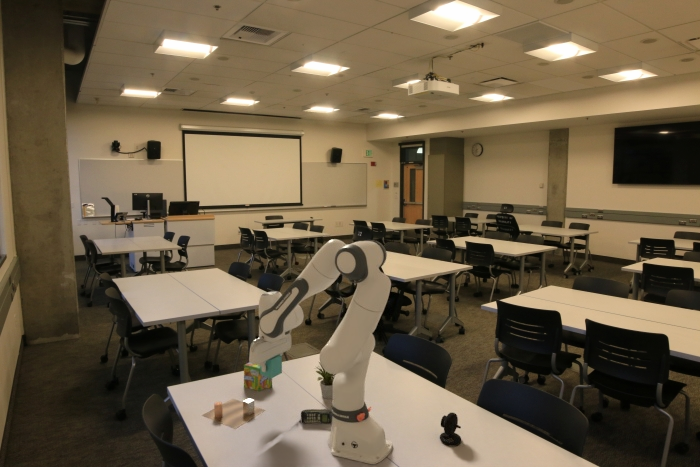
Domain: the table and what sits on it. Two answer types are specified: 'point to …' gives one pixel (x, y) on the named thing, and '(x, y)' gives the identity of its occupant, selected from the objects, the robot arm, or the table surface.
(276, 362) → the mint green cube
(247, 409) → the beige wooden block
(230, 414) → the walnut board
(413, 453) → the table surface
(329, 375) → the house plant
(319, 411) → the mobile phone
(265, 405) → the table surface
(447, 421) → the webcam
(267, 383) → the chalk box
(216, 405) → the terracotta peg
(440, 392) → the table surface
